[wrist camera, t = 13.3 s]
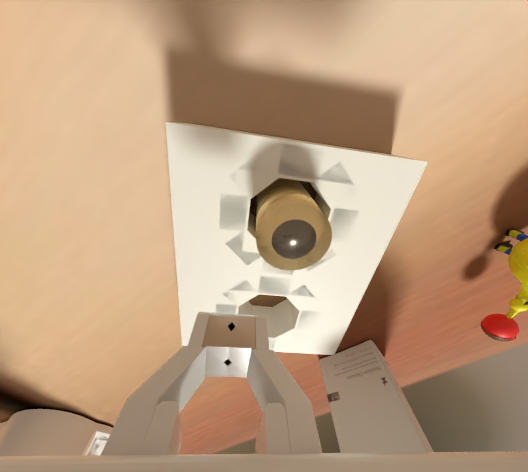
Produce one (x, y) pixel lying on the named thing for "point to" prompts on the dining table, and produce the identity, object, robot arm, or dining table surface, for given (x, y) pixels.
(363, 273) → the jig
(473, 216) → the dining table surface
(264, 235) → the bushing
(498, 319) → the toy figure
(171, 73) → the dining table surface
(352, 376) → the skincare box
